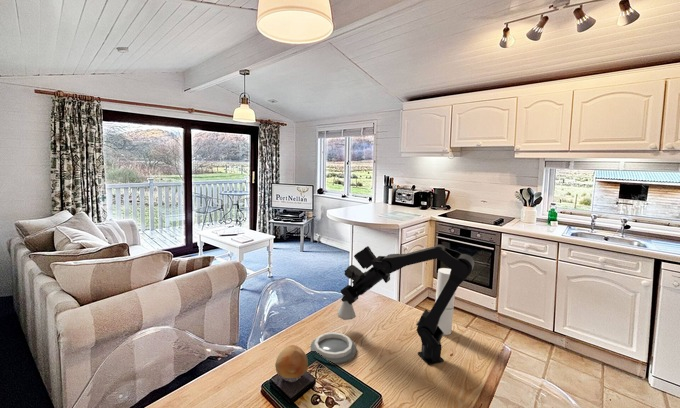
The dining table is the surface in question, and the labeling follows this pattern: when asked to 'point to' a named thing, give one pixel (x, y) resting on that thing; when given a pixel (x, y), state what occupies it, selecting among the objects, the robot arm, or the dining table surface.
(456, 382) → the dining table surface
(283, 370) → the onion
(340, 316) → the flask
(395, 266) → the robot arm
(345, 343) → the grey round shallow dish
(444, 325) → the cylindrical container
